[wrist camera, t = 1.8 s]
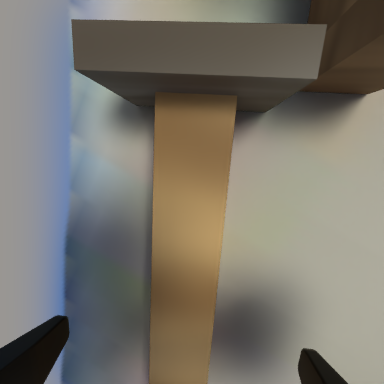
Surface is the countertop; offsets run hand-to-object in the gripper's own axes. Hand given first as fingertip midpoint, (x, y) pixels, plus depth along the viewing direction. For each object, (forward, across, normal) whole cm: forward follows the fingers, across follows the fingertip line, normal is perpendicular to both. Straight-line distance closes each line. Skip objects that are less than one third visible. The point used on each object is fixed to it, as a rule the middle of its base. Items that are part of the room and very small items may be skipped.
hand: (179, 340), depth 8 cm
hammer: (+5, 0, 0) cm, 5 cm away
